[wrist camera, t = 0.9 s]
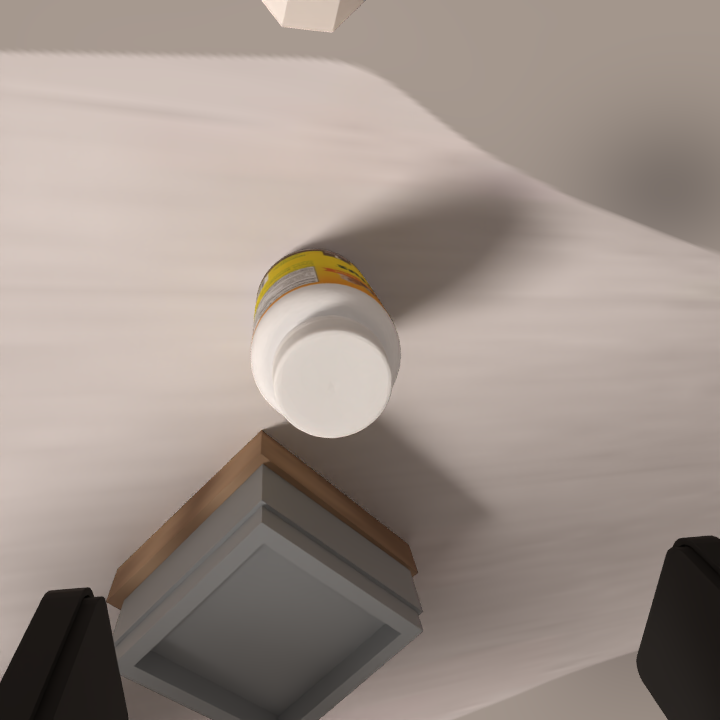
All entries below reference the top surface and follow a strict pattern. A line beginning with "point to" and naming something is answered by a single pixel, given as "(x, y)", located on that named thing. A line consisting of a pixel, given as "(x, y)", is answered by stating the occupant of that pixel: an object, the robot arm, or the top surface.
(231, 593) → the tower top
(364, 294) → the supplement bottle
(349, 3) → the pepper shaker
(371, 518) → the tower base
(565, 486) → the top surface
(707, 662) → the robot arm
